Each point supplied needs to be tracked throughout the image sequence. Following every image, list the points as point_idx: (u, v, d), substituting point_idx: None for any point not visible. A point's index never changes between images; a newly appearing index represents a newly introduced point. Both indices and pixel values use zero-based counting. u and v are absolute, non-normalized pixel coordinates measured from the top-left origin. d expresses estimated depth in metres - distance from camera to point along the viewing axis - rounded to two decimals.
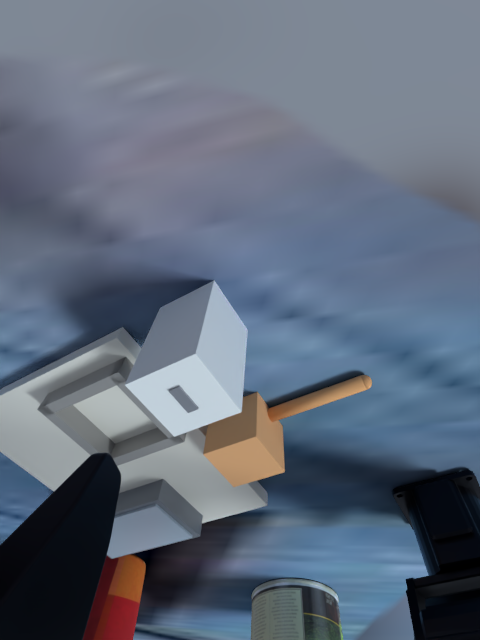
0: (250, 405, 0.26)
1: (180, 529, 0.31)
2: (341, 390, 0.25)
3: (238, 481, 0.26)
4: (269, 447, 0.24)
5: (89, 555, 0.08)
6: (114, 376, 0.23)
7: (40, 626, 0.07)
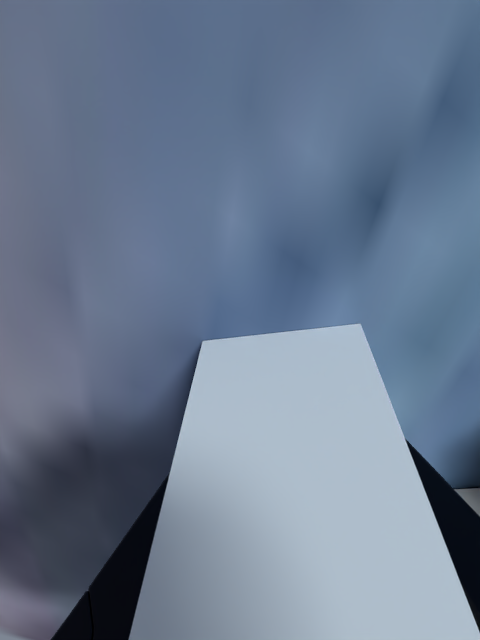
0: None
1: None
2: None
3: None
4: None
5: None
6: None
7: None
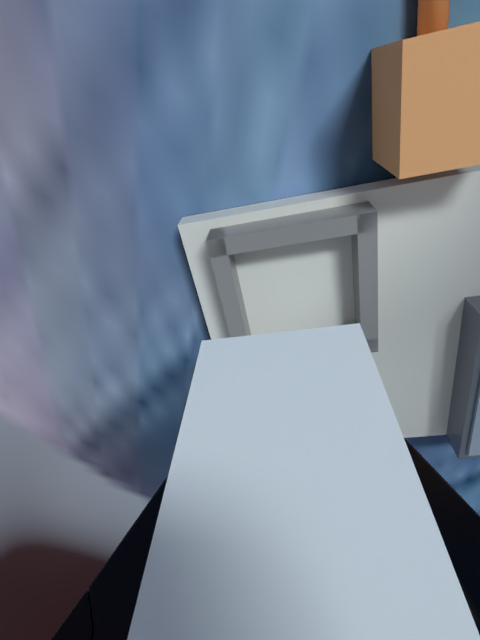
0: (378, 64, 0.14)
1: None
2: None
3: None
4: (459, 26, 0.11)
5: None
6: (212, 250, 0.16)
7: None
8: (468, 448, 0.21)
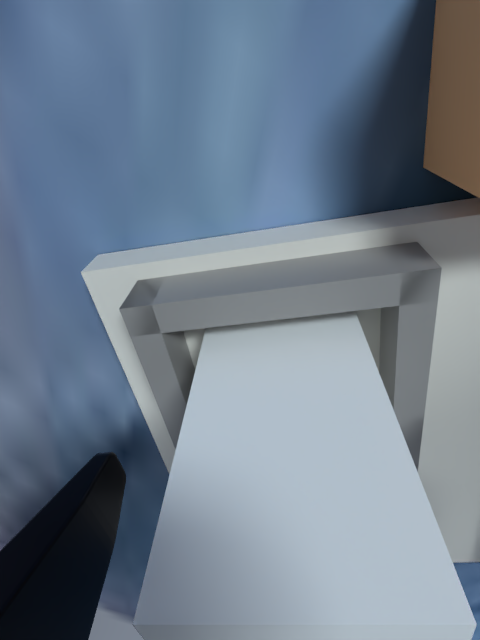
0: None
1: None
2: None
3: None
4: None
5: (94, 555, 0.08)
6: (132, 324, 0.09)
7: (46, 626, 0.07)
8: None
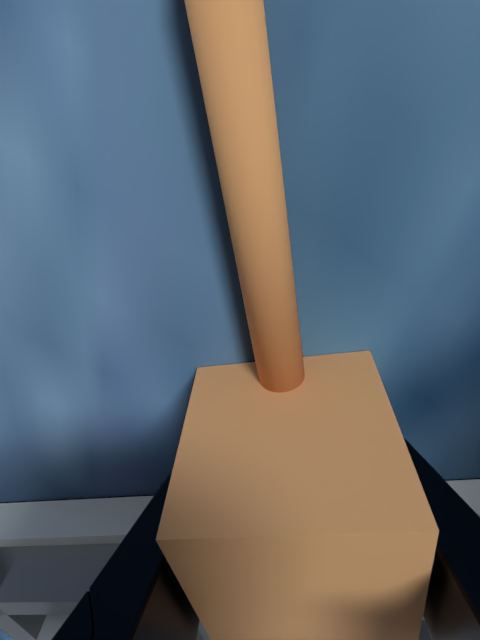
0: None
1: None
2: (209, 90, 0.05)
3: (394, 631, 0.07)
4: (270, 508, 0.06)
5: None
6: None
7: (170, 626, 0.06)
8: None
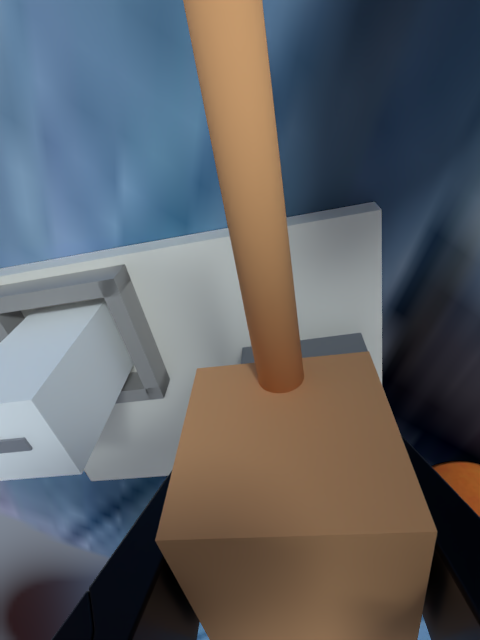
0: None
1: None
2: (209, 92, 0.05)
3: (393, 631, 0.07)
4: (268, 509, 0.06)
5: None
6: None
7: (170, 626, 0.06)
8: None
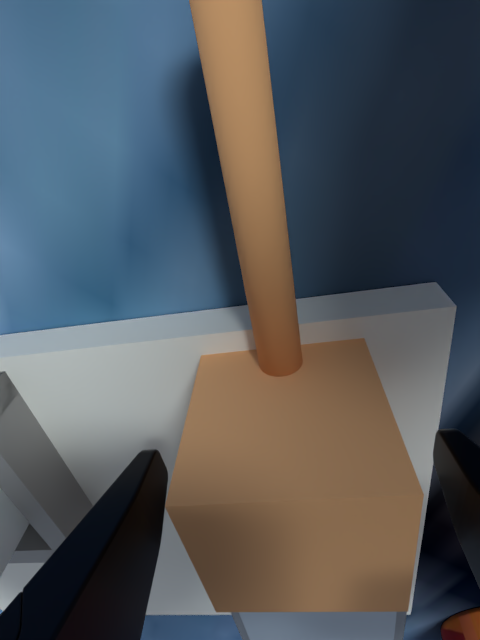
0: None
1: None
2: (213, 94, 0.06)
3: (386, 597, 0.07)
4: (270, 478, 0.06)
5: (145, 553, 0.08)
6: None
7: (106, 626, 0.06)
8: None
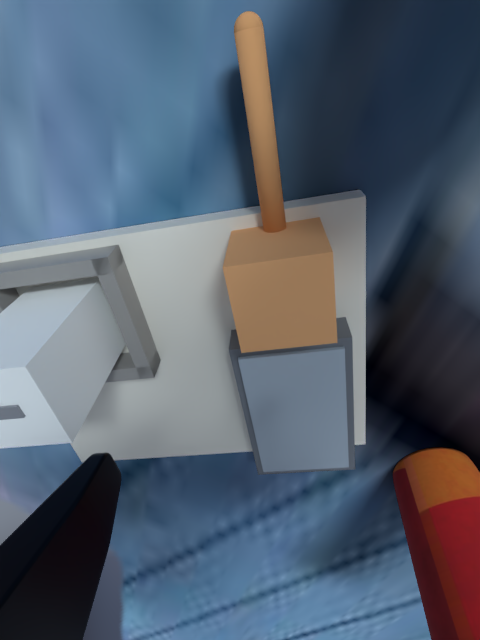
0: None
1: (313, 354, 0.18)
2: (245, 84, 0.13)
3: (325, 331, 0.15)
4: (269, 256, 0.14)
5: (89, 555, 0.08)
6: None
7: (40, 626, 0.07)
8: (262, 464, 0.23)
